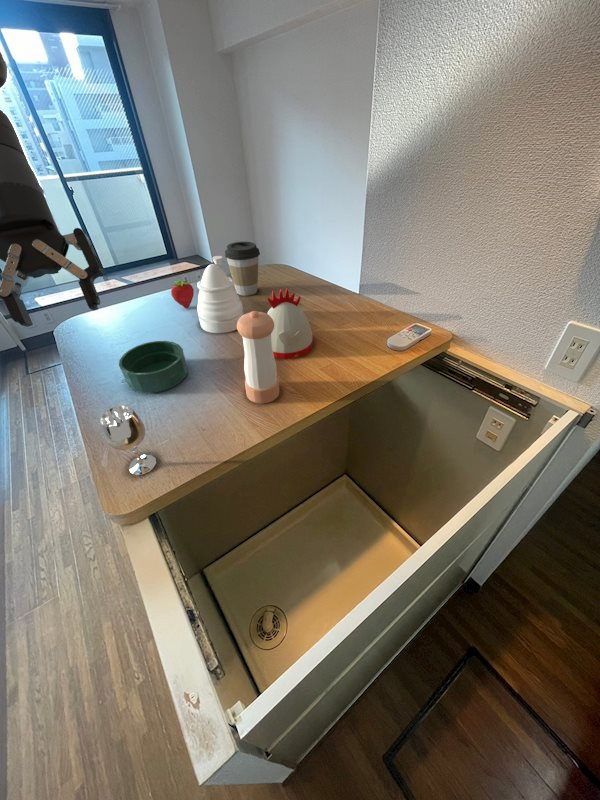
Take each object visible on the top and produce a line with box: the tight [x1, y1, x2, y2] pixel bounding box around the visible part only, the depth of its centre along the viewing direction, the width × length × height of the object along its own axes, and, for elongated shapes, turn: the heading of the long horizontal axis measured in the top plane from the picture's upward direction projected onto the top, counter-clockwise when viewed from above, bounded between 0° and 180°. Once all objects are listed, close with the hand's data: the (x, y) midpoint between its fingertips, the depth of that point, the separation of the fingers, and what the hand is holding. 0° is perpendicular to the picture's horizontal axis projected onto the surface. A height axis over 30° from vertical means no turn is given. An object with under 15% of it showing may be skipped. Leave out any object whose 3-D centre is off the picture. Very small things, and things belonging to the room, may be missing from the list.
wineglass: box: [99, 404, 157, 476], centre depth 53 cm, size 6×6×12 cm
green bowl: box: [118, 340, 189, 394], centre depth 75 cm, size 14×14×6 cm
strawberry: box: [170, 275, 195, 309], centre depth 100 cm, size 6×8×10 cm
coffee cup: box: [224, 241, 261, 297], centre depth 108 cm, size 11×11×15 cm
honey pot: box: [196, 255, 245, 334], centre depth 90 cm, size 13×13×18 cm
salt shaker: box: [236, 310, 280, 404], centre depth 65 cm, size 7×7×19 cm
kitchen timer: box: [266, 287, 313, 360], centre depth 82 cm, size 14×14×15 cm
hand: (61, 316), depth 45 cm, fingers open, 8 cm apart
